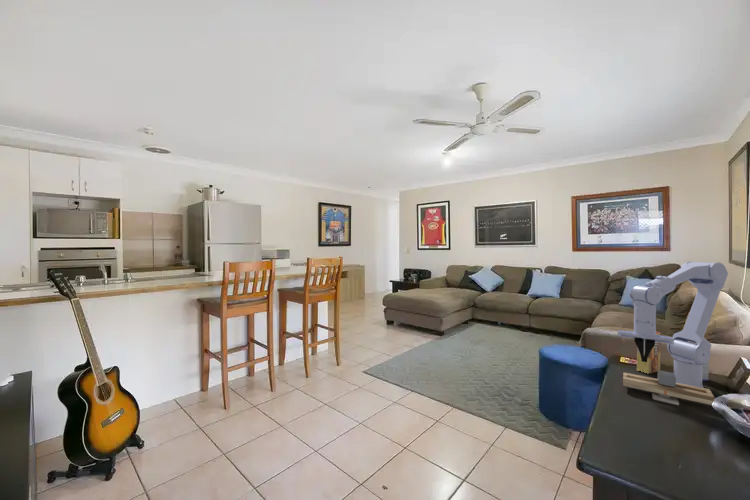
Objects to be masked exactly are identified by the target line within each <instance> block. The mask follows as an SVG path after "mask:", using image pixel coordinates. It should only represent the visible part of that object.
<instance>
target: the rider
mask: <svg viewBox="0 0 750 500" xmlns="http://www.w3.org/2000/svg"><path fill="white" fill-rule="evenodd" d="M656 379H658V384H661V385H666V386H671V387H676V377H675V374H674V372H670V371H665V370H661V369H660V370H658V371H657V378H656Z"/></svg>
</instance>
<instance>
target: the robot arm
mask: <svg viewBox="0 0 750 500" xmlns="http://www.w3.org/2000/svg"><path fill="white" fill-rule="evenodd" d="M728 275H729V273H728V269H727V267H726V266H725V265H724V264H723V263H722V262H717V261H716V262H707V261H706V262H705V261H704V262H702V261H687V262H685V263H682V264H681V267H680V268H678V269H677V270H675V271H674V272H672V273H670V274H669V275H668V276H664V275H657V276H655V279H653V280H650V281H649V282H648V281H647V282H645V283H644V284H643V285H636V286H634V287H633V288H631V290H630V292H629V298H630V299H631V301H632V306H633V331H629V330H621V329H619V330H617V337H618V338H619V337H620V338H630V339H634V343H635V345H636V348H637V347H638V349H639V352H640V355H641V361H642V362H647V359H648V356H649V353H650V351H651V350H652V348H653V347H654V345H655V341H656V342H661V343H664V344H667V345H666V349H667V352H668V353H669V354H670V355H671V356H670V357H671V358H673V373H674V374H675V377H676V383H681V384H686V385H691V386H696V387H701V388H704V385H703V381H702V367H703V364H705V363H706V362H707V361H708V360H710V359H711V348H712V344H711V343H710V341H709V340H708V339H706V338H705V335H706V332H707V329H708V326H709V324H710V321H711V318H712V315H713V313H714V310H715V307H716V304H717V302H718V299H719V296H720V294H721V291H722V290H723V288H724V286H725V283H726V281H727V278H728ZM686 281H688V282H689V283H690V285H691V286H692V287H694V288H696V290H697V292H696V294H695V298H694V300H693V301H692V302H693V303H692V306H691V308H690V310H689V314H688V315H687V319H686V321H685V325H684V327H683V329H682V330H681V331H677V332H675V333H673V335H672V337H671V336H666V335H665V336H664V335H662V334H661V335H656V332H657V326H656V325H657V304H659V303H660V302H661V300H662V298H663V297H664V296H666V295H668V294H670V293H671V292H674V290H676V287H677V285H679V284H681V283H684V282H686ZM644 340H645V354H644Z"/></svg>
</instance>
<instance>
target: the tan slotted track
mask: <svg viewBox="0 0 750 500" xmlns="http://www.w3.org/2000/svg"><path fill="white" fill-rule="evenodd" d="M622 374H623V377H622V386H624V387H628V388H632V389H633V388H634V389H637V390H642V391H647V392H651V395H652V397H651V398H652V399H653V400H655V401H658V402H662V403H668V404H672V405H677V406H680V402H679V398H680V399H682V400H683V399H684V400H688V401H693V402H698V403H702V404H707V405H711V406H713V405H712V403H713V402H714V403H715V396H714V394H713V393H712V391H711V389H710V388H706V387H705V388H701V387H696V386H691V385H686V384H681V383H676V387H671V386H666V385H661V384H658V379H657V378H654V377H650V376H644V375H639V374H635V373H630V372H625V371H623V373H622Z"/></svg>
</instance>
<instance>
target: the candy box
mask: <svg viewBox="0 0 750 500" xmlns="http://www.w3.org/2000/svg"><path fill="white" fill-rule="evenodd" d="M656 335H661V336H662V333H661V332H660V331H656ZM661 343H662V342H656V341H655V345H654V347H653V348H652V350H651V351H650V353H649V356H648V359H647V362H642V361H641V355H640V352H639V349H638V347H637V346H636V349H637V351H636V352H637V353H636V372H639V371H641V372H640V373H643V372H644V374H646V373H647V374H646V375H649V373H650V374H652V373H656V372H657V373H658V370H660V371H661ZM644 354H645V340H644Z"/></svg>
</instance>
